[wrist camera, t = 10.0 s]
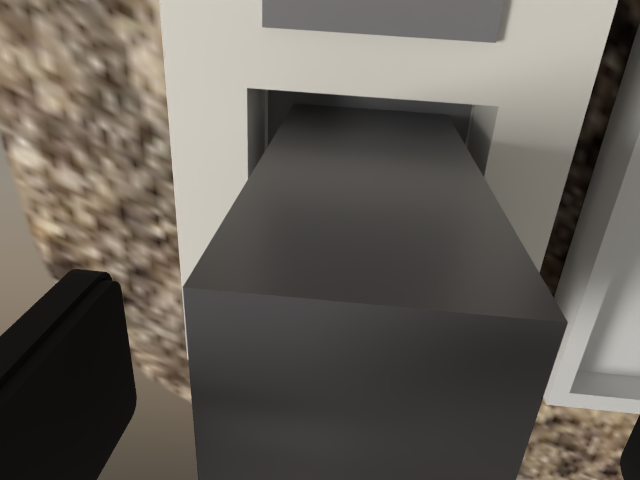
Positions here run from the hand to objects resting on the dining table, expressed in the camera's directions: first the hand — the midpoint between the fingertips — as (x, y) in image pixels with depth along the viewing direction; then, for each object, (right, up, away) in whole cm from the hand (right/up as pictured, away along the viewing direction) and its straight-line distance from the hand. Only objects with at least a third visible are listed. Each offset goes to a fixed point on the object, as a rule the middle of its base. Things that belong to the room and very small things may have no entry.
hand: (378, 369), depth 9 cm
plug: (0, +4, +7) cm, 8 cm away
